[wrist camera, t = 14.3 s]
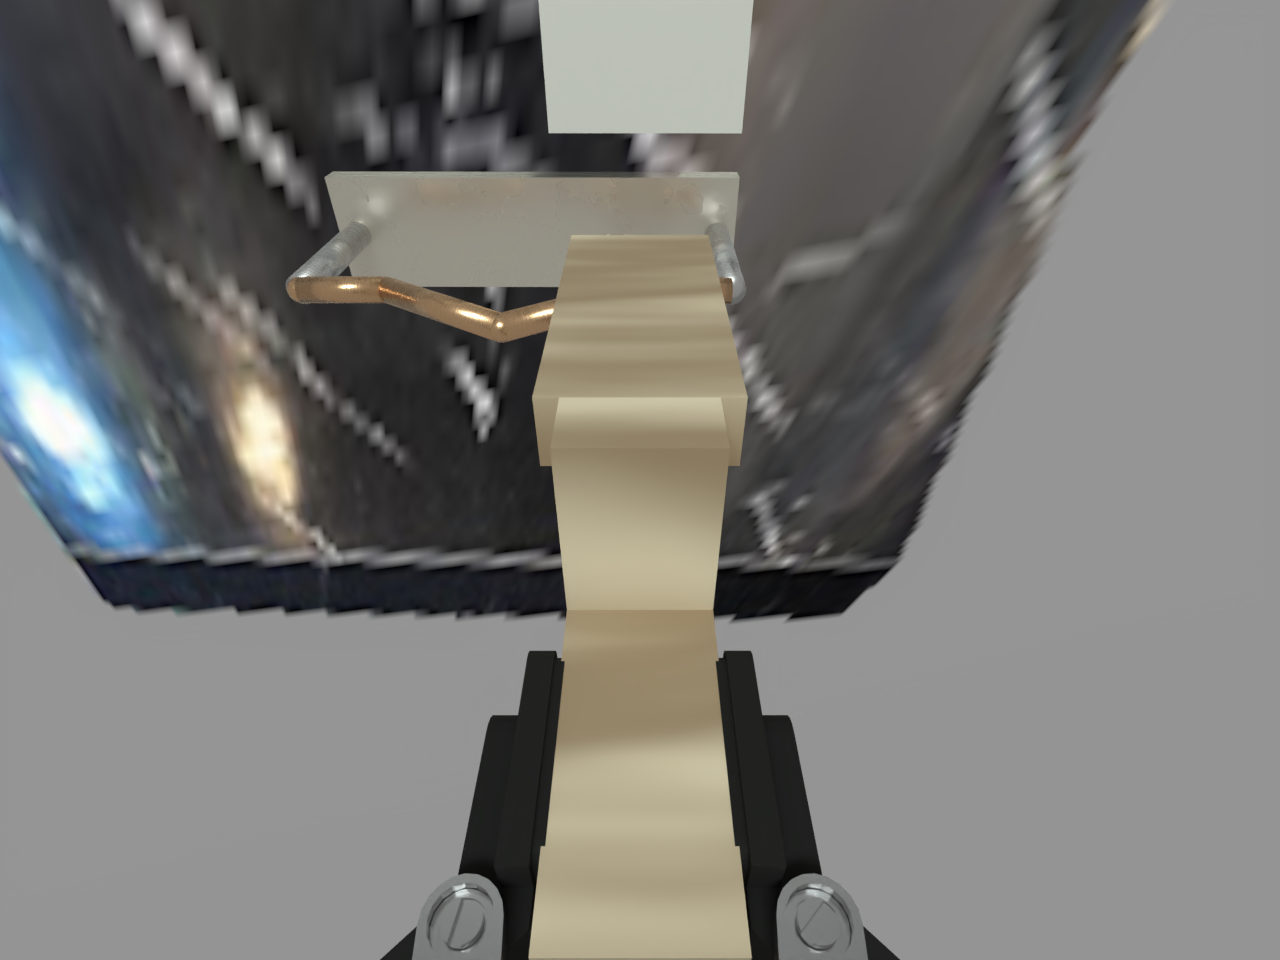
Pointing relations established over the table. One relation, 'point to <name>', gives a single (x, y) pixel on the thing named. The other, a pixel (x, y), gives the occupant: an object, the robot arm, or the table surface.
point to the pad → (645, 65)
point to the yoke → (640, 605)
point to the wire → (500, 236)
